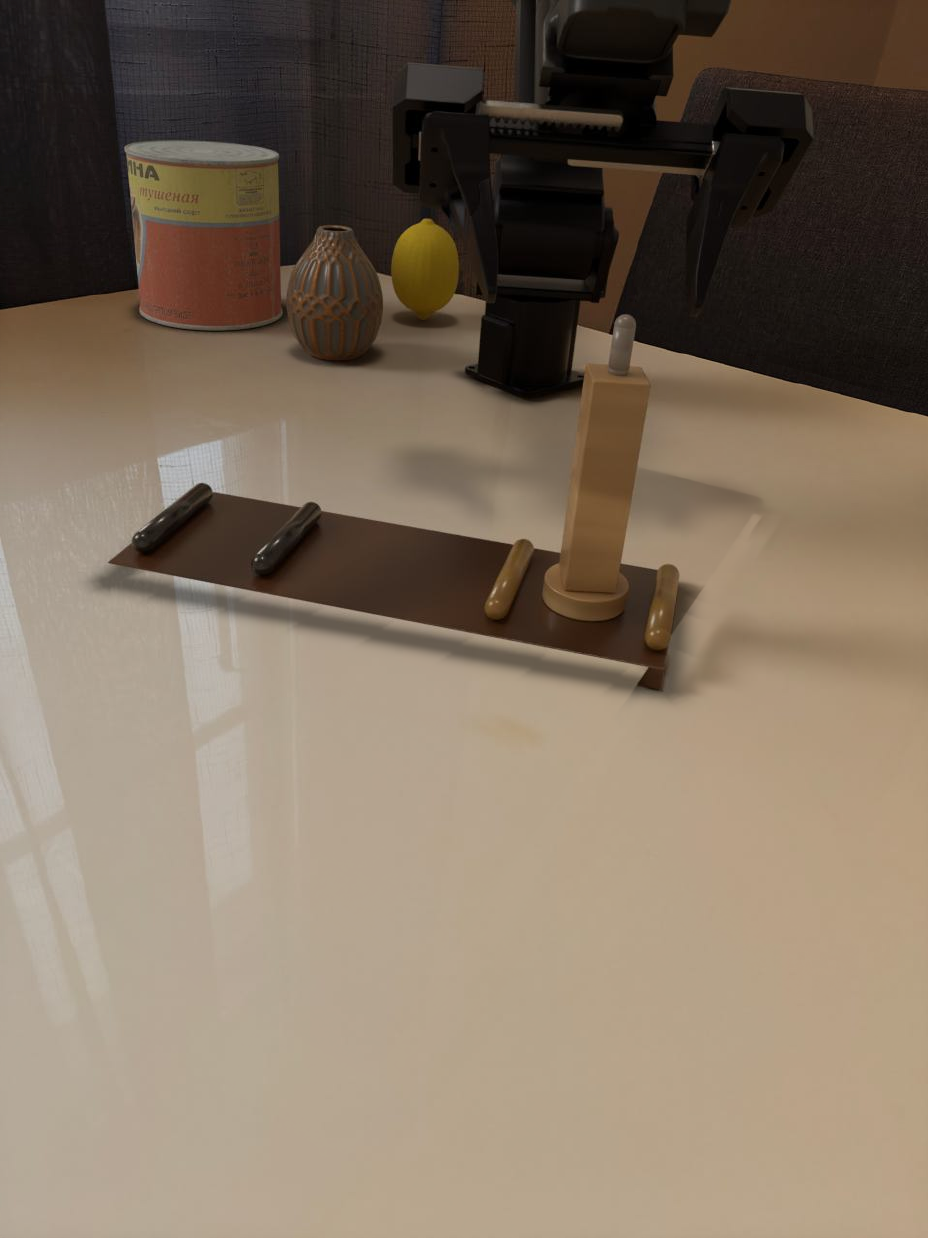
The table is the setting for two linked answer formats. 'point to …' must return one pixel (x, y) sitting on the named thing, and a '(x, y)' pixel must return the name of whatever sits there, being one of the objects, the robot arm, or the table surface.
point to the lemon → (425, 268)
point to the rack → (398, 574)
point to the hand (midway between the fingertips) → (594, 304)
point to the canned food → (206, 233)
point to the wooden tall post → (601, 486)
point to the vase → (334, 297)
